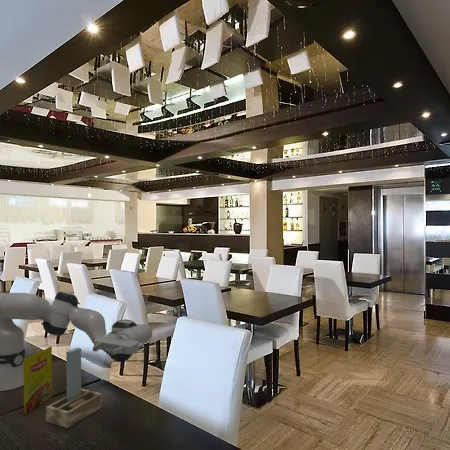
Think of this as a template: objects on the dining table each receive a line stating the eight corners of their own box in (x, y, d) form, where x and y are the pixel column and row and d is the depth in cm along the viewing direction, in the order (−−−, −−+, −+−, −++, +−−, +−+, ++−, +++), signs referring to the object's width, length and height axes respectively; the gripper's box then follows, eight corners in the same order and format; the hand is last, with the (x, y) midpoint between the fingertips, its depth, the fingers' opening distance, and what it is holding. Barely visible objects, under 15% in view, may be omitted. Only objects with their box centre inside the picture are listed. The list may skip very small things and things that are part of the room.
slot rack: (45, 421, 131) (45, 406, 131) (81, 401, 145) (81, 388, 145) (67, 428, 126) (67, 413, 126) (102, 407, 141) (102, 393, 141)
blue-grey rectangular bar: (66, 412, 137) (66, 351, 137) (77, 406, 142) (77, 347, 141) (70, 413, 136) (70, 352, 136) (81, 407, 141) (81, 348, 141)
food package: (25, 415, 135) (25, 359, 135) (22, 415, 135) (22, 359, 135) (53, 396, 150) (52, 346, 150) (50, 396, 150) (50, 345, 150)
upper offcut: (67, 413, 132) (67, 405, 132) (80, 405, 138) (80, 398, 138) (74, 414, 131) (74, 407, 131) (87, 407, 136) (87, 400, 136)
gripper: (145, 351, 160) (123, 362, 147) (107, 345, 168) (84, 355, 156) (145, 336, 160) (123, 346, 147) (107, 331, 168) (84, 340, 156)
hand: (102, 350), depth 152 cm, fingers open, 8 cm apart
